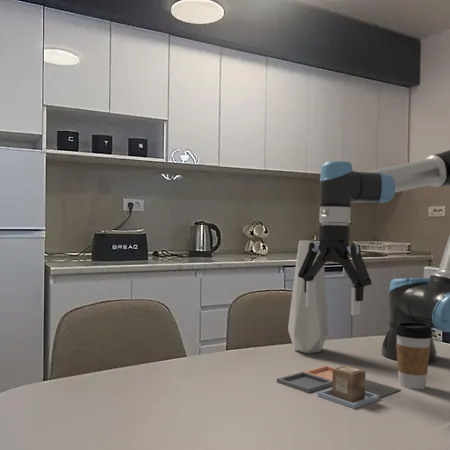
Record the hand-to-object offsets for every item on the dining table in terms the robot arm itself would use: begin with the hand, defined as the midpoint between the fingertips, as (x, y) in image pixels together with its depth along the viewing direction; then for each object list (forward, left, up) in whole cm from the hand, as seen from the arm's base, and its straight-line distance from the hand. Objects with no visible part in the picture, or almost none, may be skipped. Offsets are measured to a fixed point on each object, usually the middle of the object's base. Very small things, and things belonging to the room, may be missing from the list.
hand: (331, 310), depth 125 cm
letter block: (+10, +12, -16) cm, 22 cm away
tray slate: (+10, +12, -17) cm, 23 cm away
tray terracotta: (0, 0, -17) cm, 17 cm away
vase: (-16, -21, -17) cm, 32 cm away
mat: (0, +12, -17) cm, 21 cm away
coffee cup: (-10, +16, -17) cm, 26 cm away
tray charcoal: (+10, 0, -17) cm, 19 cm away
